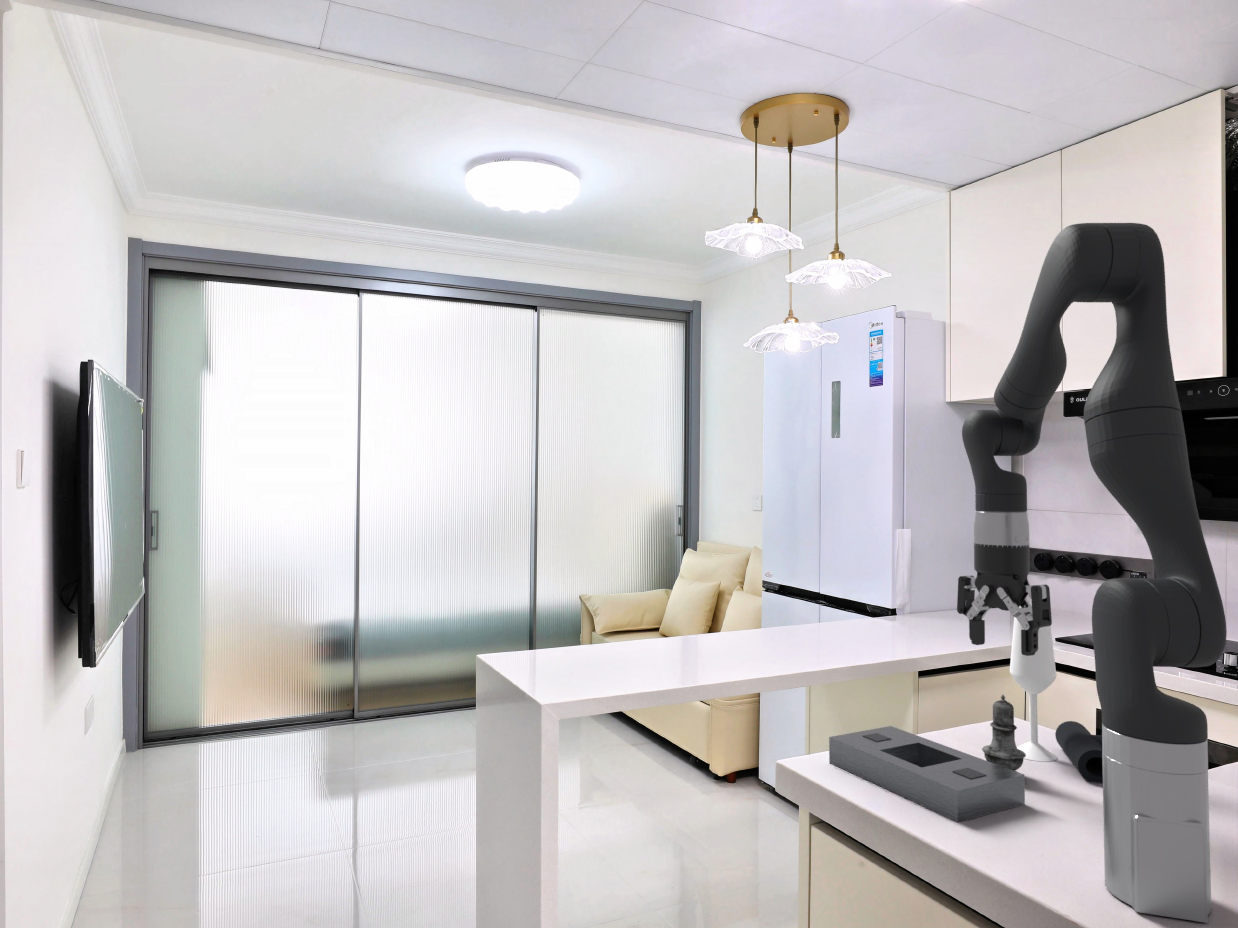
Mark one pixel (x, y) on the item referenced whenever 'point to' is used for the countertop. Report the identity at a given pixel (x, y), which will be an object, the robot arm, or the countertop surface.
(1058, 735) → the pipe connector
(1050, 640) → the champagne flute
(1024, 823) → the countertop surface
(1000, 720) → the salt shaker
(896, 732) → the gray slotted block
